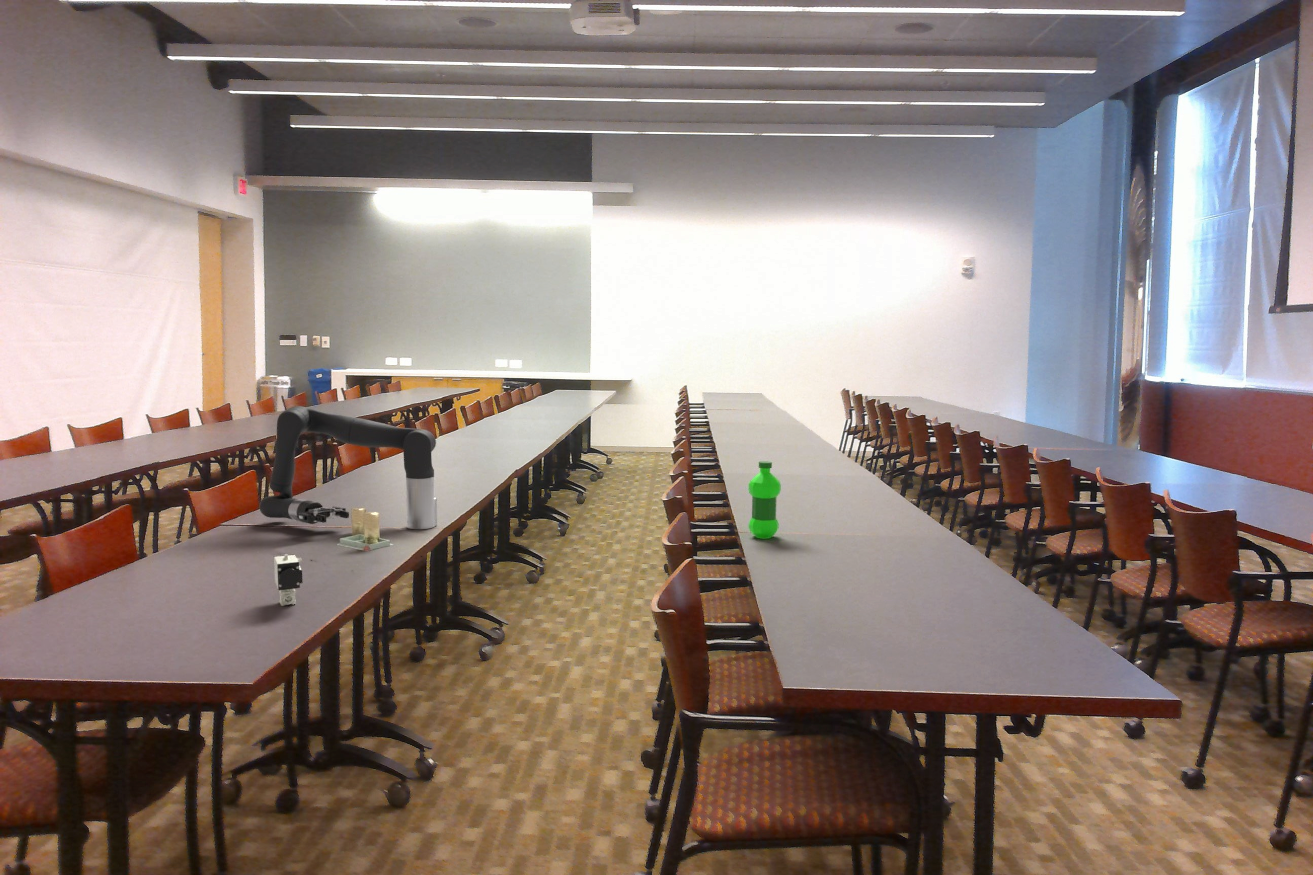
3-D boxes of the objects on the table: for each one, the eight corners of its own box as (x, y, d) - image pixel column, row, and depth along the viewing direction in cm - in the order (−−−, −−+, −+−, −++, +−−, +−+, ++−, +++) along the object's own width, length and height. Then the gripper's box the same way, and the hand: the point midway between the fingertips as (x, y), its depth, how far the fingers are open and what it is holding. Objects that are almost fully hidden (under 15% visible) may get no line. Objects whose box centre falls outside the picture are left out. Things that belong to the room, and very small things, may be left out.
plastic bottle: (770, 532, 289) (772, 459, 287) (784, 539, 279) (786, 463, 277) (743, 534, 286) (744, 460, 283) (756, 541, 276) (758, 464, 274)
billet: (360, 537, 275) (359, 507, 274) (369, 539, 272) (369, 508, 271) (348, 540, 271) (348, 509, 270) (358, 542, 269) (357, 510, 268)
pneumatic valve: (279, 611, 199) (277, 561, 198) (274, 598, 210) (272, 550, 208) (305, 608, 202) (303, 558, 201) (299, 595, 212) (297, 548, 211)
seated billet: (373, 543, 261) (372, 511, 260) (383, 545, 259) (382, 512, 257) (360, 546, 257) (360, 513, 256) (370, 548, 255) (370, 515, 254)
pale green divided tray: (363, 542, 268) (363, 533, 267) (393, 549, 260) (393, 539, 260) (336, 549, 259) (336, 539, 259) (366, 555, 252) (366, 545, 252)
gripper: (286, 503, 279) (317, 509, 271) (324, 497, 291) (355, 502, 283) (287, 525, 280) (318, 532, 271) (324, 518, 292) (355, 524, 283)
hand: (336, 517), depth 277 cm, fingers open, 8 cm apart
